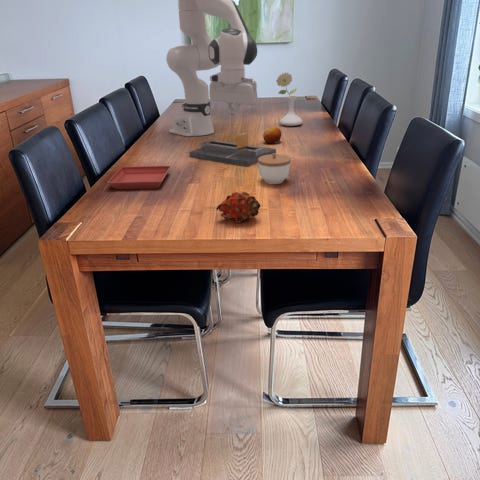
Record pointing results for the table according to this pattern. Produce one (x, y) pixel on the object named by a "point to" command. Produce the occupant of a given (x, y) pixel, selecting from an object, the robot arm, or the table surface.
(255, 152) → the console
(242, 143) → the block
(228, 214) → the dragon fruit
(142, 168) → the plant saucer
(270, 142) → the fruit
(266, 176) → the lidded jar
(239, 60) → the robot arm
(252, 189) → the table surface
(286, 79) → the flower in vase
